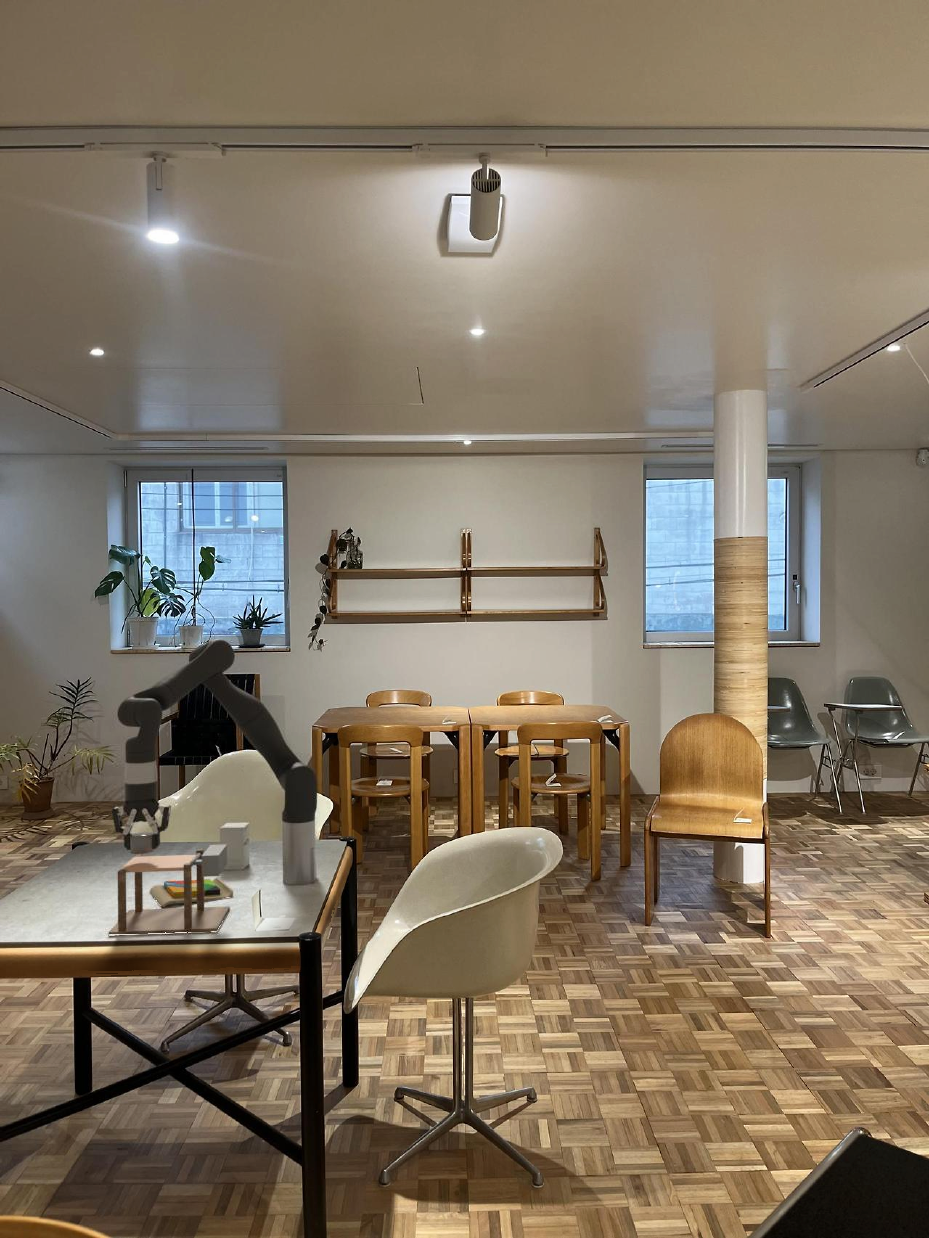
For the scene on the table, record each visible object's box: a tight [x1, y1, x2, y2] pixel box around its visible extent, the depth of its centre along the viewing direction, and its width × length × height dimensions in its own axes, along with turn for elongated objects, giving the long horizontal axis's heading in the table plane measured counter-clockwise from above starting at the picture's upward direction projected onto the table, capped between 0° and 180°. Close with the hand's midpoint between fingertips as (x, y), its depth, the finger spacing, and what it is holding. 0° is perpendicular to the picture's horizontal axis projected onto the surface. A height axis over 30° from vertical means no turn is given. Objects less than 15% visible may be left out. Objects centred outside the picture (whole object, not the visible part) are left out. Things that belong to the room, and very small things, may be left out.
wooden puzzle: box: [149, 877, 234, 908], centre depth 250 cm, size 18×19×4 cm
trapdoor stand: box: [108, 848, 231, 935], centre depth 226 cm, size 25×17×16 cm
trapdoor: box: [119, 844, 227, 878], centre depth 226 cm, size 23×12×5 cm, turn 94°
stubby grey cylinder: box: [129, 831, 155, 855], centre depth 226 cm, size 6×6×4 cm
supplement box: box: [219, 822, 250, 871], centre depth 278 cm, size 7×7×13 cm
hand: (142, 848), depth 226 cm, fingers closed on stubby grey cylinder, 5 cm apart
